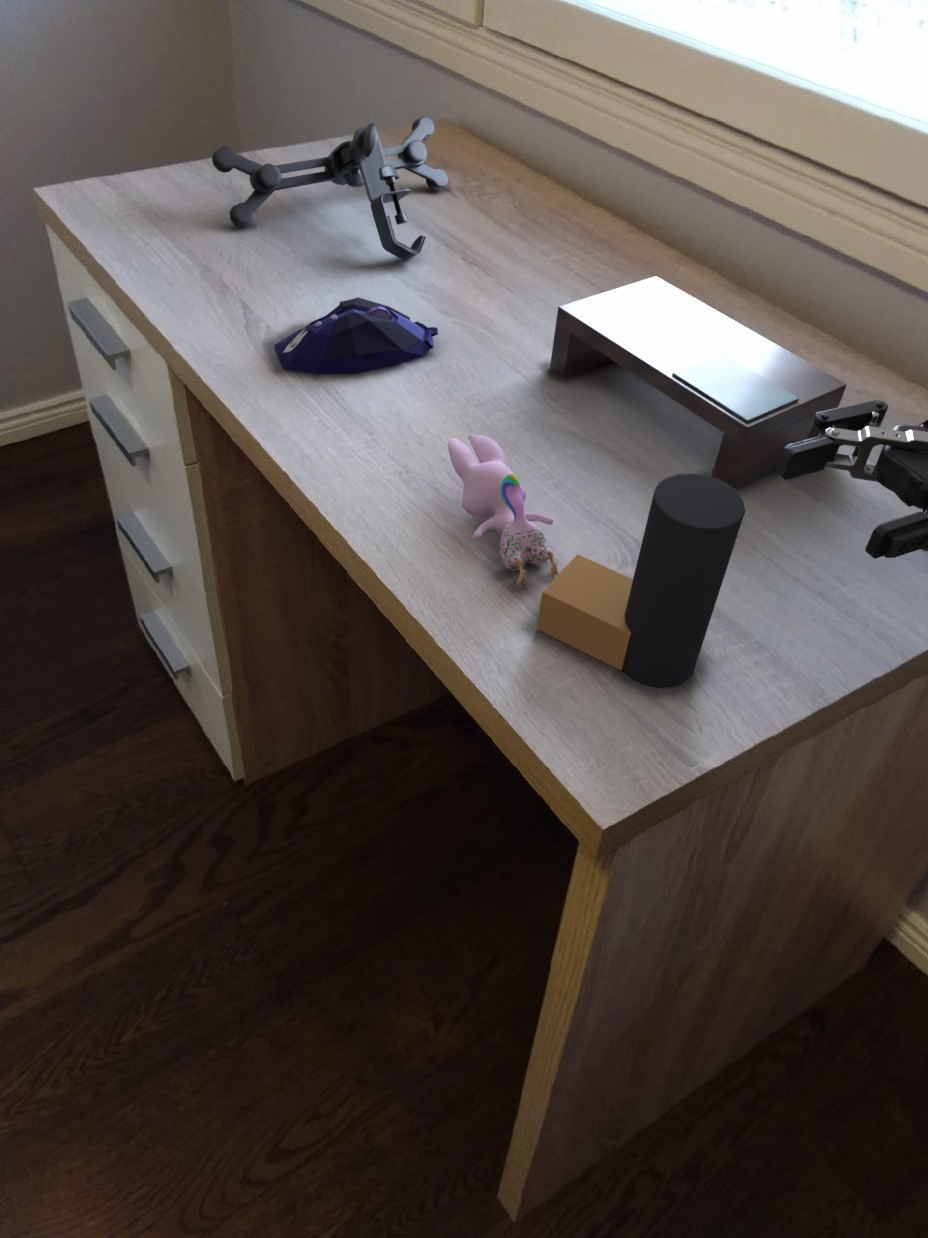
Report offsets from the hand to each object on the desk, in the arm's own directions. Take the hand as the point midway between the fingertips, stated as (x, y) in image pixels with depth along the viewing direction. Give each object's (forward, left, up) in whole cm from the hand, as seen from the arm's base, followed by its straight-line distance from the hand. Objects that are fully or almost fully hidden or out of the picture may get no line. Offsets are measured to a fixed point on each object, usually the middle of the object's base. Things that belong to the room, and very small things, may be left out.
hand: (826, 502), depth 64 cm
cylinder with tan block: (+4, +12, -10) cm, 16 cm away
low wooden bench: (+23, -13, -10) cm, 28 cm away
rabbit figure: (+19, +11, -10) cm, 24 cm away
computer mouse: (+46, +6, -10) cm, 47 cm away
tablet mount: (+67, -9, -10) cm, 68 cm away
